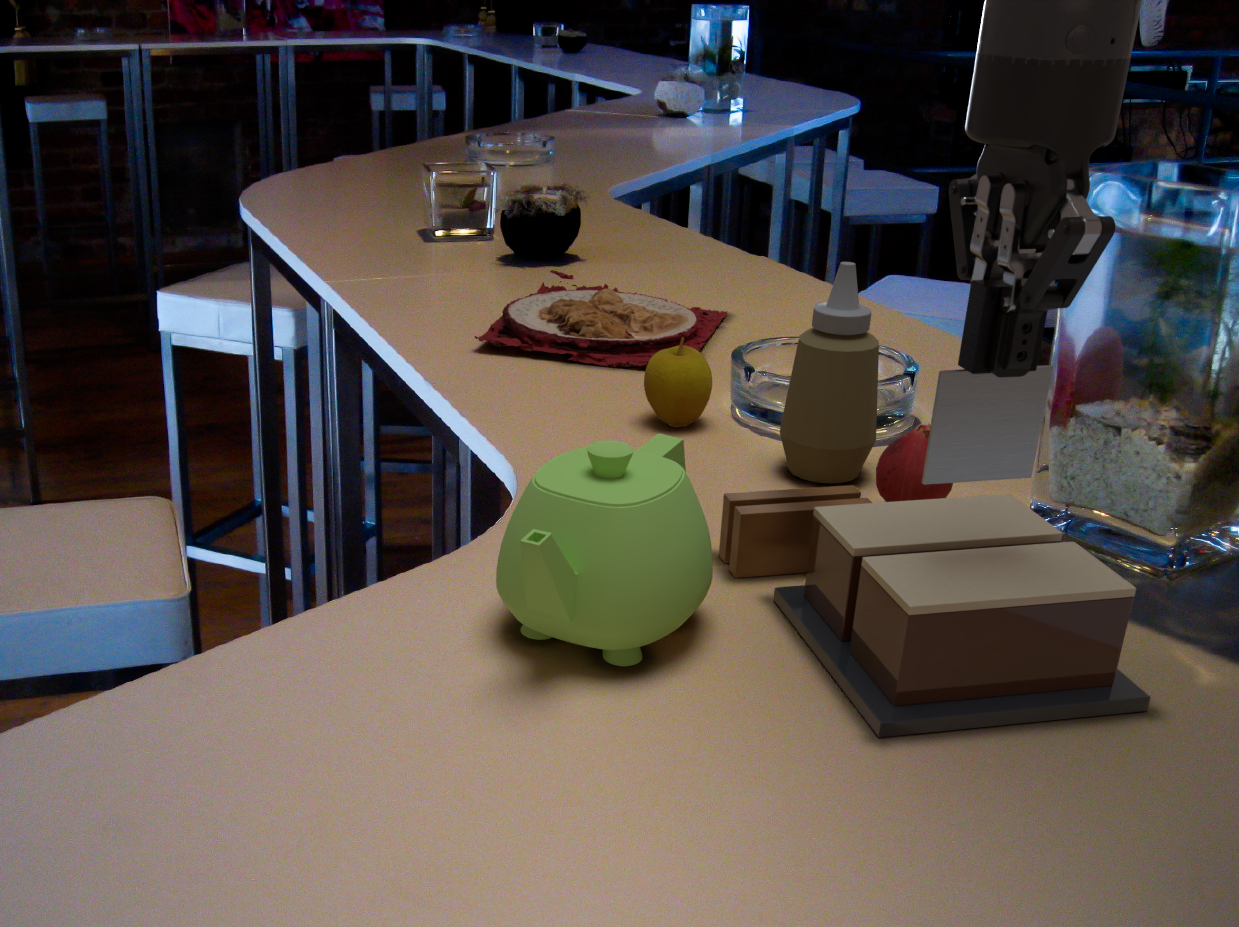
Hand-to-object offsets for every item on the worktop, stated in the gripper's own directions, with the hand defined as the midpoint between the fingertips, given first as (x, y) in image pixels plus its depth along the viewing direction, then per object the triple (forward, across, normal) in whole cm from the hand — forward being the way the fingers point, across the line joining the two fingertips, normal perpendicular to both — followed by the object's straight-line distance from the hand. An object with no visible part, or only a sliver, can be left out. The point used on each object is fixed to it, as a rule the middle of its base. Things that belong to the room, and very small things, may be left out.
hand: (996, 367), depth 73 cm
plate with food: (+19, +75, +4) cm, 77 cm away
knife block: (+19, +14, +5) cm, 24 cm away
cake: (+19, 0, 0) cm, 19 cm away
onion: (+19, +20, -7) cm, 29 cm away
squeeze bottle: (+19, +30, -4) cm, 36 cm away
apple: (+19, +44, +5) cm, 48 cm away
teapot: (+19, +7, +21) cm, 29 cm away
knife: (+7, 0, 0) cm, 7 cm away
